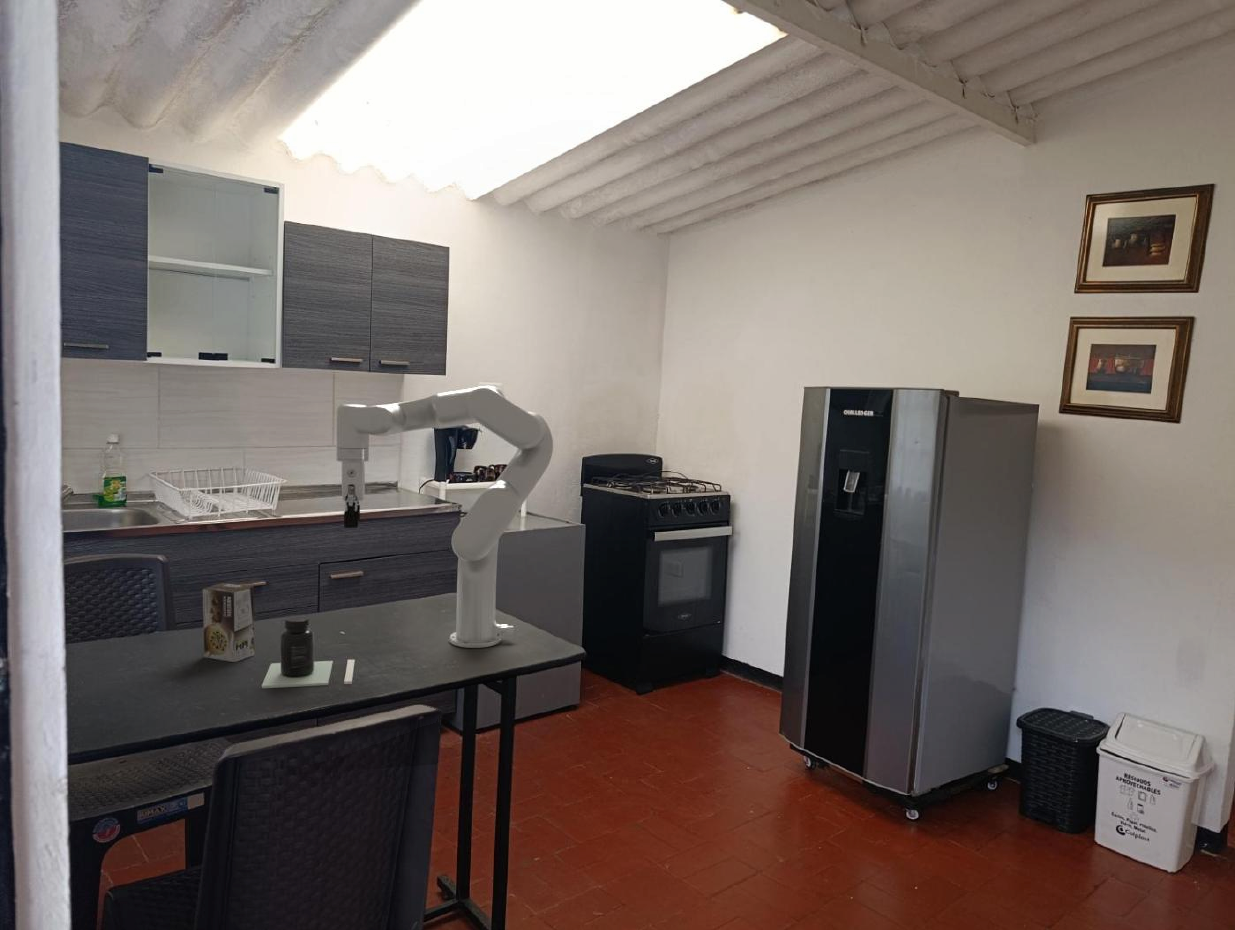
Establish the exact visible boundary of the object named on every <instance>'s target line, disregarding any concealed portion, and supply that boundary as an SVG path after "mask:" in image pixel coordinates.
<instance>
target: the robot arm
mask: <svg viewBox="0 0 1235 930" xmlns="http://www.w3.org/2000/svg"><path fill="white" fill-rule="evenodd" d="M472 424H480V426H482V427H484V428H485V429H487V430H488V431H490V432H492V434H494V435H495V436H497V437H499V438H500V439H502V440H503V441H505V442H507V443H508V444H510V445H511V446H513V447H514V448H515V447H516V448H517V451H516V452H515V454H514V456H513V457H512V458H511V460H510V461H508V464H507V465H506V466H505V469H504V470H502V472H501V474H500V475H498V477H497V479H495V481H494V482H493V483H491V485H489V486H488V487H487V488H485V490H483V491H482V493H481V494H480V495H479V496H478V498H477V499H476V501H475V502H474V503H473V504H472V506H470V508H469V510H468V512H467V513H466V515H464V516H463V518H462V519H461V521H460V522H459V524H458V525H457V526H456V528H455V529H454V530H453V533H452V536H451V541H450V543H451V548H452V551H453V552H454V555H456V556H457V557H458V559H457V581H456V582H457V583H456V621H455V622H456V623H455V625H456V627H455V632H453V633H451V634H450V635H449V642H450V644H452V645H454V646H457V647H460V648H467V649H469V648H470V649H482V648H489V647H492V646H495V645H497V644H499V643H500V642H501V641H502V639H501V638H502V637H501V635H502V634H506V635H511V634H514V632H515V630H514V629H515V628H514V625H508V624H503V623H502V624H499V623H497V621H496V592H497V588H496V587H497V569H498V567H497V566H498V565H497V564H498V551H499V541H500V540H499V539H500V537H501V536H502V535H503V534H504V532H505V531H507V528H508V527H509V525H511V522H513V520H514V519H515V518H516V516H517V515H518V514H519V512H520V511H521V508H522V505H523V504H524V502H525V501H526V500H527V499H528V497H529V495H530V494H531V493H532V491H533V490H534V488H535V487H536V485H537V484H538V482H540V480H541V478H542V476H543V475H544V474H545V472H546V471H547V468H548V466H549V465H550V462H551V459H552V457H553V452H554V440H553V439H554V438H553V435H552V431H551V429H550V427H549V425H548V423H547V422H546V420H545V418H544V417H542V416H541V415H540V414H539V413H537V412H533V411H527V410H524V409H523V408H521V407H520V406H518V405H516V404H515V403H514V402H512V401H511V400H509V399H508V398H506V397H505V394H504V393H503V391H502V390H501V389H499V388H498V387H496V386H494V385H481V386H477V387H472V388H465V389H459V390H458V389H457V390H454V391H453V390H452V391H447V392H440V393H435V394H433V395H430V396H428V397H425V398H419V399H416V400H408V401H407V400H406V401H402V402H396V403H390V404H389V403H388V404H387V403H386V404H378V405H365V404H357V403H355V404H354V403H349V404H348V403H347V404H345V403H343V404H339V406H338V407H337V409H336V462H341V494H342V501H343V502H344V503H345V504H344V513H343V520H344V521H343V527H344V528H345V529H353V528H355V529H357V528H358V527H359V521H360V520H361V519H360V518H361V505H360V503H363V502H364V501H365V497H366V491H365V489H366V488H365V487H366V481H365V480H366V479H365V478H366V473H365V472H366V471H365V462H369V460H370V459H369V458H370V457H369V456H370V454H369V453H370V452H369V451H370V436H376V437H386V436H391V435H394V434H395V435H396V434H399V433H406V432H410V431H411V432H412V431H419V430H425V429H447V428H453V427H460V426H465V425H472Z"/></svg>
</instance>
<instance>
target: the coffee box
mask: <svg viewBox="0 0 1235 930" xmlns="http://www.w3.org/2000/svg"><path fill="white" fill-rule="evenodd" d="M254 590H255V586H252V585H244V584H236V583H227V582H221V583H217V584H213V585H211V586H209V587H205V588H202V608H203V609H202V614H203V653H204V655H203V656H204V658H206V659H207V658H208V659H213V660H214V659H215V660H219V661H225V662H231V663H237V662H239V661H242V660H244V659H246V658H250V657H253V656H254V655H255V607H254V606H255V601H254V600H255V599H254V598H255V596H254V595H255V593H254V592H255V591H254Z"/></svg>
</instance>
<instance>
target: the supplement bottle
mask: <svg viewBox="0 0 1235 930" xmlns="http://www.w3.org/2000/svg"><path fill="white" fill-rule="evenodd" d="M284 628H285V630H284V631H283V632H281V634H280V639H279V640H280V641H279V643H280V645H279V646H280V648H279V649H280V651H279V652H280V653H279V654H280V663H281V674H282V675H283V676H285V677H303V676H306V675H309V674H311V673H312V672H313V671H314V662H315V633H314V632H313V630H311V629H310V619H309V617H308V616H306V615H305V616H304V615H295V616H289V617H287V618H285V619H284Z"/></svg>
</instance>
